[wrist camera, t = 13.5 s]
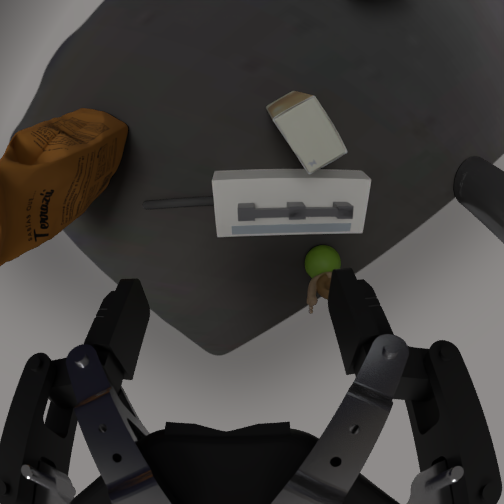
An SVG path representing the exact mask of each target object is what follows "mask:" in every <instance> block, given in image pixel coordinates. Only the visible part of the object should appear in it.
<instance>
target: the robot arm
mask: <svg viewBox="0 0 504 504" xmlns="http://www.w3.org/2000/svg"><path fill="white" fill-rule="evenodd" d="M454 193H455V196H456V199H457V200H458V202H459V203H461V204H462V205H463V206H464V207H465V208H467V209H468V210H469V211H470V212H471V213H472V214H473V215H474V216H475V217H477V218H478V219H479V220H480V221H481V222H482V223H483V224H484V225H485V226H486V227H487V228H488V229H489V230H491V231H492V232H493V233H494V234H495V235H496V236H497V237H498V238H499V239H500V240H501V241H502V242H503V243H504V171H502V170H501V169H499V168H497V167H496V166H494V165H493V164H491V163H489V162H488V161H486V160H484V159H482V158H481V157H477V156H474V157H470V158H468V159H467V160H465V161H464V162H463V163H462V165H461V166H460V168H459V169H458V171H457V174H456V177H455V181H454ZM328 307H329V313H330V316H331V320H332V323H333V326H334V330H335V334H336V337H337V341H338V344H339V348H340V352H341V356H342V360H343V363H344V367H345V371H346V375H349V374H355V375H356V378H355V380H354V382H353V384H352V385H351V387H350V388H349V390H348V392H347V394H346V395H345V397H344V399H343V401H342V403H341V405H340V406H339V408H338V410H337V411H336V413H335V415H334V416H333V418H332V420H331V421H330V423H329V424H328V426H327V428H326V429H325V431H324V432H323V434H322V436H321V437H320V439H319V438H317V437H315V436H313V435H311V434H309V433H306V432H304V431H300V430H296V429H290V422H280V423H267V424H266V423H265V424H256V425H252V426H248V427H244V428H241V429H236V430H232V431H227V432H225V431H220V430H216V429H212V428H208V427H204V426H201V425H197V424H189V423H173V422H166V426H165V429H163V430H159V431H156V432H153V433H151V434H149V432H148V431H147V430H146V428H145V427H144V426H143V424H142V423H141V421H140V420H139V418H138V416H137V414H136V412H135V411H134V409H133V407H132V405H131V403H130V401H129V400H128V397H127V395H126V393H125V391H124V389H123V388H122V386H121V384H122V380H123V379H126V380H132V379H133V375H134V371H135V367H136V364H137V360H138V356H139V352H140V349H141V345H142V342H143V338H144V334H145V331H146V328H147V324H148V321H149V317H150V308H149V304H148V301H147V299H146V296H145V293H144V291H143V288H142V285H141V282H140V280H139V279H121V280H120V282H119V284H118V286H117V288H116V290H115V291H111V292H110V293H109V294H108V295H107V296H106V297H105V298H104V299H103V302H102V304H101V306H100V308H99V310H98V312H97V314H96V318H95V319H94V321H93V323H92V326H91V328H90V330H89V332H88V335H87V337H86V339H85V342H84V344H82V345H79V346H77V347H75V348H74V349H72V350H71V351H70V352H69V354H68V356H67V358H63V359H58V360H53V361H51V359H50V358H49V357H48V356H47V355H46V354H44V353H37V354H35V355H33V356H32V357H30V359H29V360H28V361H27V363H26V365H25V368H24V370H23V373H22V375H21V378H20V380H19V383H18V386H17V388H16V391H15V395H14V397H13V400H12V403H11V406H10V409H9V413H8V416H7V419H6V423H5V426H4V430H3V434H2V437H1V441H0V503H1V504H399V503H398V502H397V501H395V500H394V499H393V498H392V497H390V496H389V495H387V494H386V493H385V492H384V491H382V490H381V489H380V488H378V487H377V486H376V485H374V484H373V483H372V482H370V481H369V480H368V479H367V478H366V477H364V476H363V475H362V474H361V473H360V471H361V469H362V468H363V466H364V464H365V462H366V460H367V458H368V457H369V455H370V453H371V451H372V449H373V447H374V445H375V443H376V441H377V439H378V437H379V435H380V433H381V431H382V428H383V426H384V424H385V422H386V420H387V418H388V415H389V413H390V410H391V408H392V405H393V402H392V399H401V400H405V403H406V407H407V410H408V414H409V419H410V423H411V427H412V432H413V436H414V441H415V446H416V450H417V456H418V461H419V467H420V473H419V474H418V475H417V476H416V477H415V479H414V480H413V482H412V485H411V495H410V499H409V501H408V503H407V504H497V502H498V500H499V498H500V496H501V492H502V482H501V477H500V472H499V467H498V463H497V459H496V455H495V451H494V447H493V443H492V439H491V436H490V432H489V429H488V426H487V422H486V419H485V416H484V413H483V410H482V407H481V404H480V401H479V399H478V396H477V393H476V390H475V388H474V385H473V383H472V380H471V378H470V375H469V372H468V370H467V368H466V365H465V363H464V361H463V358H462V356H461V354H460V352H459V350H458V348H457V347H456V346H455V345H454V344H452V343H451V342H448V341H445V340H439V341H437V342H435V343H433V344H432V346H431V347H430V349H423V348H414V347H409V346H407V344H406V343H405V341H404V340H403V339H401V338H400V337H398V336H395V335H394V334H393V332H392V329H391V327H390V325H389V323H388V320H387V318H386V316H385V314H384V311H383V309H382V307H381V306H380V303H379V301H378V299H377V296H376V294H375V292H374V290H373V288H372V287H371V286H370V285H369V284H368V283H367V282H366V281H365V280H364V279H363V280H357V279H356V276H355V274H354V272H353V270H352V269H351V268H344V269H333V271H332V275H331V282H330V288H329V295H328ZM48 399H49V400H51V402H50V406H49V409H48V413H47V417H46V421H45V424H44V421H43V415H44V411H45V408H46V404H47V401H48ZM77 421H78V422H79V425H80V428H81V430H82V433H83V435H84V438H85V440H86V443H87V445H88V447H89V450H90V452H91V455H92V457H93V459H94V461H95V463H96V465H97V468H98V470H99V472H100V474H101V475H100V476H99V477H98V478H97V479H96V480H95V481H94V482H93V483H91V484H90V485H89V486H88V487H87V488H85V489H84V490H83V491H82V492H81V493H80V494H78V495H77V496H76V497H75V498H74V495H75V493H76V491H75V488H74V487H73V486H72V483H71V480H70V479H69V477H68V471H69V464H70V457H71V452H72V446H73V441H74V435H75V431H76V426H77Z"/></svg>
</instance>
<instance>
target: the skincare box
mask: <svg viewBox="0 0 504 504" xmlns="http://www.w3.org/2000/svg"><path fill="white" fill-rule="evenodd" d="M266 110H267V111H268V113H269V115H270V116H271V118H272V120H273V122H274V123H275V125H276V126H277V128H278V129H279V130H280V132H281V133H282V135H283V136H284V138H285V139H286V141H287V142H288V144H289V145H290V147H291V148H292V150H293V151H294V153H295V154H296V156H297V157H298V159H299V161H300V162H301V164H302V165H303V167H304V168H305V170H306V171H307V173H308V174H311V173H313V172H315V171H317V170H319V169H320V168H322V167H324V166H326V165H327V164H329V163H331V162H333V161H334V160H336V159H338V158H339V157H341V156H342V155H344V154H346V153H347V150H346V148H345V145H344V143H343V141H342V139H341V137H340V135H339V134H338V132H337V130H336V128H335V127H334V125H333V123H332V122H331V120H330V118H329V117H328V115H327V113H326V112H325V110H324V109H323V107H322V106H321V104H320V103H319V101H318V100H317V99H316V97H315V96H313V95H309V94H305V93H301V92H297V91H292V92H290V93H288V94H286V95H285V96H283V97H281V98H279V99H278V100H276V101H274V102H273V103H271V104H269V105H268V106H267V107H266Z"/></svg>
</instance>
